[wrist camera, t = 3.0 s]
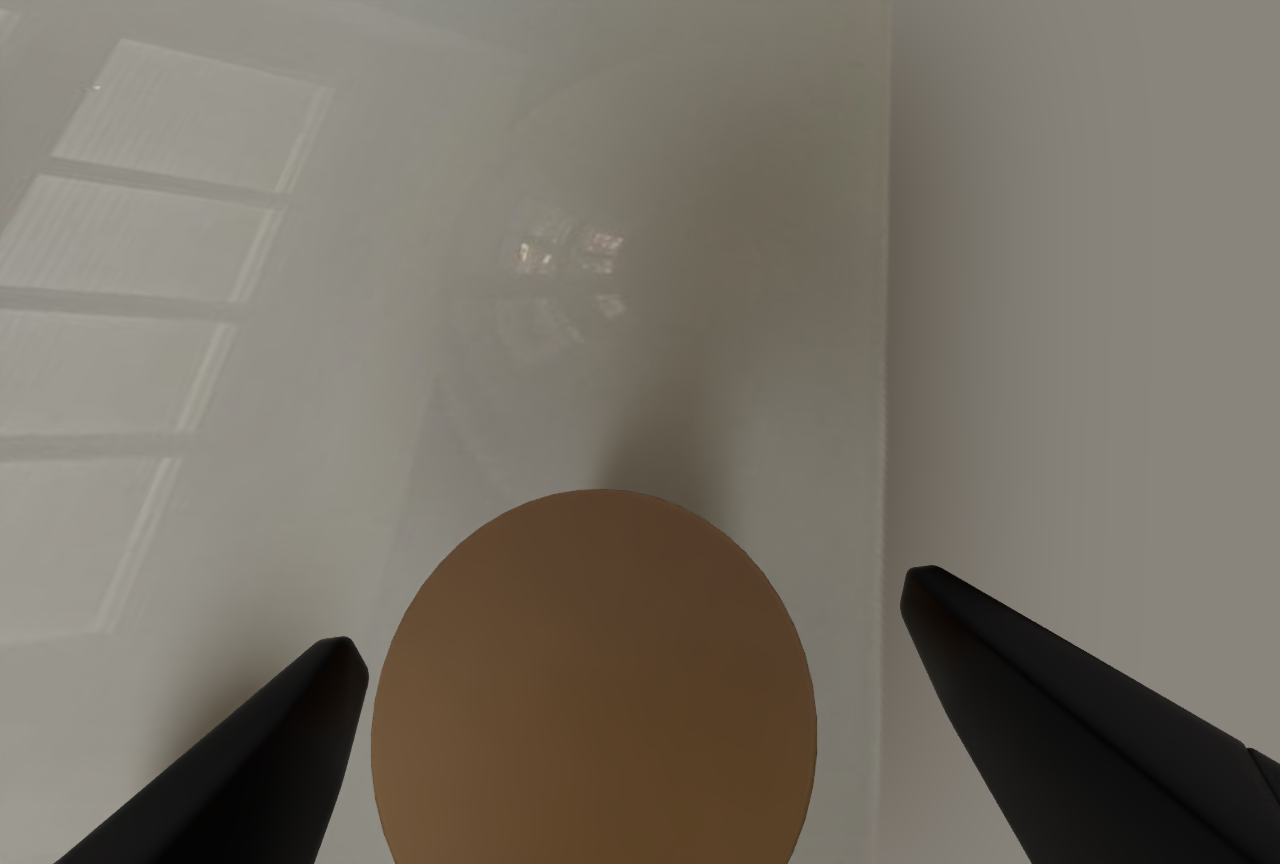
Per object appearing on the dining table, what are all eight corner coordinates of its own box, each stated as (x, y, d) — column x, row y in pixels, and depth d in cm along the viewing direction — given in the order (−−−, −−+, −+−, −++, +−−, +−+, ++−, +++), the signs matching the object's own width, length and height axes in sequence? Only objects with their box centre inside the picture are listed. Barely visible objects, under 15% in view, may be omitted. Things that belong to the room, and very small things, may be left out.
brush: (709, 679, 15) (1013, 1238, 2) (575, 674, 15) (146, 1164, 2) (708, 542, 16) (901, 392, 3) (584, 538, 16) (329, 382, 3)
